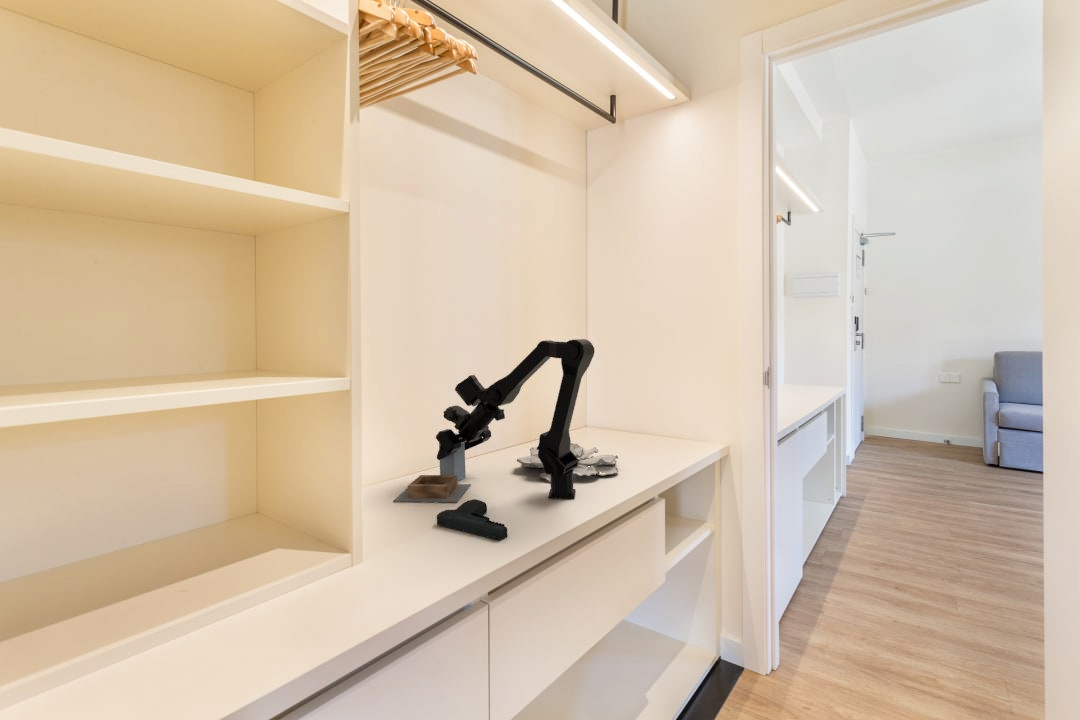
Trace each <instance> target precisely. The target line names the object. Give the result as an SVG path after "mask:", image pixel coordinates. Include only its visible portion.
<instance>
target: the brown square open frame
mask: <svg viewBox="0 0 1080 720" xmlns="http://www.w3.org/2000/svg"><path fill="white" fill-rule="evenodd" d="M458 482H459V481H458V479H457V475H440V474H433V475H432V474H420V475H419V476H418V477H417V478H415V479H414V480H413V481H411V482H410V483H408V485H407V488H408V498H448V497H449V496H450V495H451V494H452V492H453V491H454V490H455V489H456V488H457V487H458V484H459V483H458Z"/></svg>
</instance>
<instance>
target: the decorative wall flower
mask: <svg viewBox="0 0 1080 720" xmlns="http://www.w3.org/2000/svg"><path fill="white" fill-rule="evenodd" d="M537 447H538V446H535V447H531V448H530V449H529V451H530V455H529V456H524V457H518V458H517V459H516V462H517V463H519V464H522V467H524V468H532V469H540V468H544V467H543V464H542V462H541V461H540V459H539V458H538V451H539V450H536V448H537ZM570 450H571V452H572V453H573V454H574V455H575V456H576V457H577V458H578V460H579V462H578V465H577V467H576V468H574V469H572V470H573V479H575V475H577V476H580V477H582V476H585V477H586V476H588V477H591V476H602V477H605V476H609V475H615V474H618V473H619V470H618V467H616V466H615V467H614V466H613V465H616V464H617V460H616V459H619V456H618V455H614V454H602V455H600V454H599V455H596V456H593V455H594V453H597V454H598V453H599V450H598V449H597V447H593V448H591V449H588V450H587V449H585V448H584V447H582V446H581V445H579V444H578V443H572V442H571V444H570ZM588 457H589V458H588ZM586 458H587V459H586ZM609 465H610V466H609ZM588 466H590V467H588ZM600 472H601V473H602V474H600ZM603 473H605V474H603ZM596 474H597V475H596ZM539 478H542V479H544V480H547V481H548V482H549V483H550V474H546V473H545V472H543V473H540V474H539Z"/></svg>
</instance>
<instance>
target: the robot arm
mask: <svg viewBox="0 0 1080 720" xmlns="http://www.w3.org/2000/svg"><path fill="white" fill-rule="evenodd" d="M594 354H595V347H594V345H593V343H592V342H591V341H589V339H585V338H579V339H578V338H577V339H569V340H568V341H555V340H548V339H547V340H541V341H539V342H538V343H537V345H536V347H535V348H533V349H532V351H531V352H530V353H529V354H528V355H526V356H525V358H523V359H522V361H520V363H518V365H516V367H515V368H513V369H512V371H511V372H510V373H508V374H507V375H506V376H504V377H502V378H500V379H498V380H497V381H495V382H494V383H492V384H491V385H490V386H488V387H487V388H486V387H484V385H482V384H481V383H482V382H480V381H479V379H478V378H477V376H476V375H475V374H472V375H471V374H470V375H469V376H467V378H464V380H462V381H461V382H459V383H458V384H456V386H455V388H454V392H456V394H457V395H458V396H459V397H460V399H461V400H462V401H463V402H464V403H465V405H466V406H467V407H470V406H472V407H475V408H473V410H472V411H471V412H469V411H468V410H467V409H465V408H463V407H462V406H459V405H457V404H456V405H452V406H448V407H447V408H446V409H445V410H444V411H443V418H444V419H445V420H447V421H448V422H452V423H453V424H454V426H453V427H454V428H455V429H456V431H457V430H458V431H457V434H458V435H455V433H456V432H454V431H453V430H452V429H450V428H446V429H443V430H441V431H438V433H436V435H435V439H436V440H437V442H438V444H439V443H440V448H438V451H437V454H436V459H437V461H440V460H441V459H443V458H445V457H447V456H449V455H451V454H453V453H456V452H457V450H459V449H460V448H461V443H463V442H465V451H467V450H469V449H472V448H474V447H476V446H479V445H480V444H481V445H482V444H483V443H485V442H487V441H489V440H490V438H492V431H491V430H490V427H489V425H490V424H491V423H492V421H493V420H495V421H497V422H498V421H501V420H505V418H506V416H505V409H504V408H503V409H502V408H500V407H502V406H505V405H508V404H511V403H513V402H514V400H516V398H517V397H518V395H519V394H520V392H521V389H522V387H523V385H524V384H525V383H526V382H527V381H528V380H529V379H531V377H532V376H533V375H534V374H535V373H536V372H537V371H538V370H539V369H540V368H541V367H542V366H543V365H545V363H546V362H548V361H549V360H550V359H551V358H555V359H560V365H561V369H562V378H561V382H560V386H559V392H558V395H557V399H556V403H555V408H554V411H553V416H552V421H551V423H550V425H551V426H550V428H549V430H548V431H545V432H543V433H541V434H540V435H539V439H538V440H539V441H538V445H537V446H536V447H537V448H536V450H539V451H538V458H539V459H540V461H541V462H542V464H543V467H544V473H546V474H550V482H549V483H550V489H549V492H548V494H547V495H548V496H547V499H556V500H557V499H563V500H569V499H570V500H575V498H576V489H575V488H574V478H573V470H572V469H574V468H576V467H577V465H578V462H579V460H578V458H577V457H576V456H575V455H574V454H573V453H572V452H571V450H570V444H572V442H571V441H572V440H571V436H570V427H571V423H572V419H573V416H574V410H575V406H576V403H577V402H576V401H577V398H578V393H579V389H580V385H581V381H582V378H583V376H584V374H585V373H586V372H587V370H588V369H589V367H590V365H591V362H592V360H593V358H594V356H595V355H594Z"/></svg>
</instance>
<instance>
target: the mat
mask: <svg viewBox="0 0 1080 720" xmlns="http://www.w3.org/2000/svg"><path fill="white" fill-rule="evenodd" d="M471 486H472V484H471V483H458V487H457V488H456V489H455V490H454V491H453V492H452V494H451V495H450V496H449V497H448V498H408V487H407V488H406V489H405V490H404V491H403V492H401V493H400V494H399V495H398V496H396V497H395V498H394V499H393V500H392V502H393V501H397V502H396V503H422V502H432V503H433V502H439V503H440V504H457V503H458V502H459V501H460V500H461V498H462V497H463V496H464V495H465V494H466V492H467V491H468V490H469V489H470V487H471ZM398 501H400V502H398ZM439 503H438V504H439ZM433 504H434V503H433Z"/></svg>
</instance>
